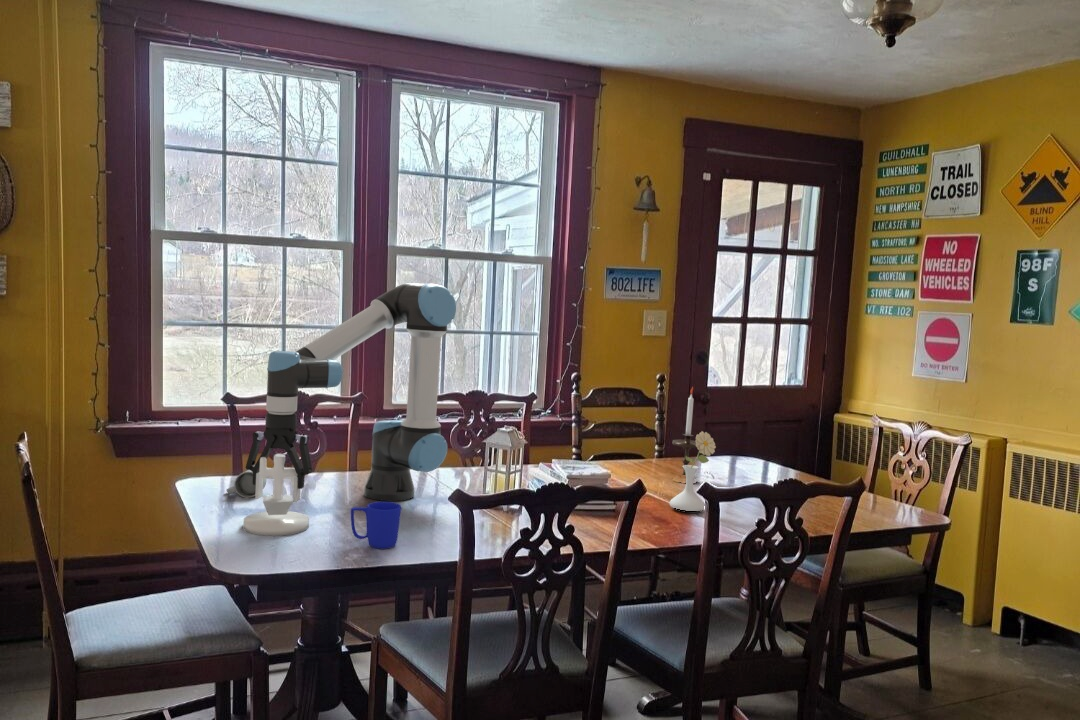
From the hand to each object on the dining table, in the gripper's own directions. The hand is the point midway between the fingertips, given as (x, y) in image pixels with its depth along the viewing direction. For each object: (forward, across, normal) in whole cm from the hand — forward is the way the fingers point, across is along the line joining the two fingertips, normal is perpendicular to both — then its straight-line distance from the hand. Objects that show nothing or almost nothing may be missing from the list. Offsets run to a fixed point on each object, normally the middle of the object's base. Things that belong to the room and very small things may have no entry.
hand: (277, 499), depth 213 cm
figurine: (+4, 0, 0) cm, 4 cm away
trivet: (+7, 0, 0) cm, 7 cm away
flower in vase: (+7, -110, -56) cm, 124 cm away
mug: (+7, -28, +8) cm, 30 cm away
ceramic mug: (+8, +21, -28) cm, 36 cm away
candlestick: (+7, -112, -100) cm, 150 cm away
